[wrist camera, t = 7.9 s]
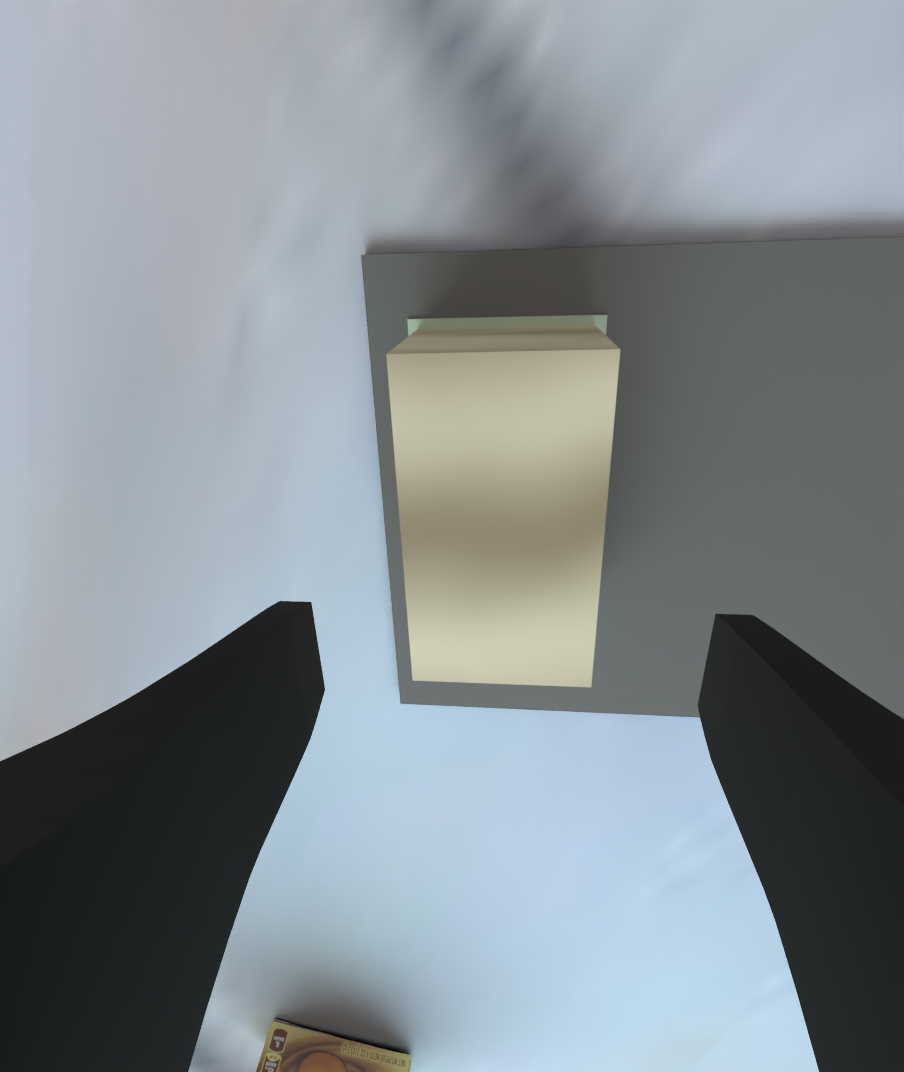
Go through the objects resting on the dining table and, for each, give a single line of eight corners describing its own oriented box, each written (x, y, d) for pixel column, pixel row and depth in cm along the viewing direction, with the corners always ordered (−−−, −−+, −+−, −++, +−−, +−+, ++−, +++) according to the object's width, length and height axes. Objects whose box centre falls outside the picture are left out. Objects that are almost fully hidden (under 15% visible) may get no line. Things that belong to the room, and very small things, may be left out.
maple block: (576, 600, 20) (590, 687, 16) (432, 597, 21) (412, 680, 17) (594, 324, 16) (620, 349, 12) (417, 329, 17) (386, 354, 13)
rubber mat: (1154, 228, 15) (1174, 227, 14) (940, 721, 22) (949, 730, 21) (364, 254, 17) (360, 254, 16) (402, 696, 24) (400, 705, 23)
